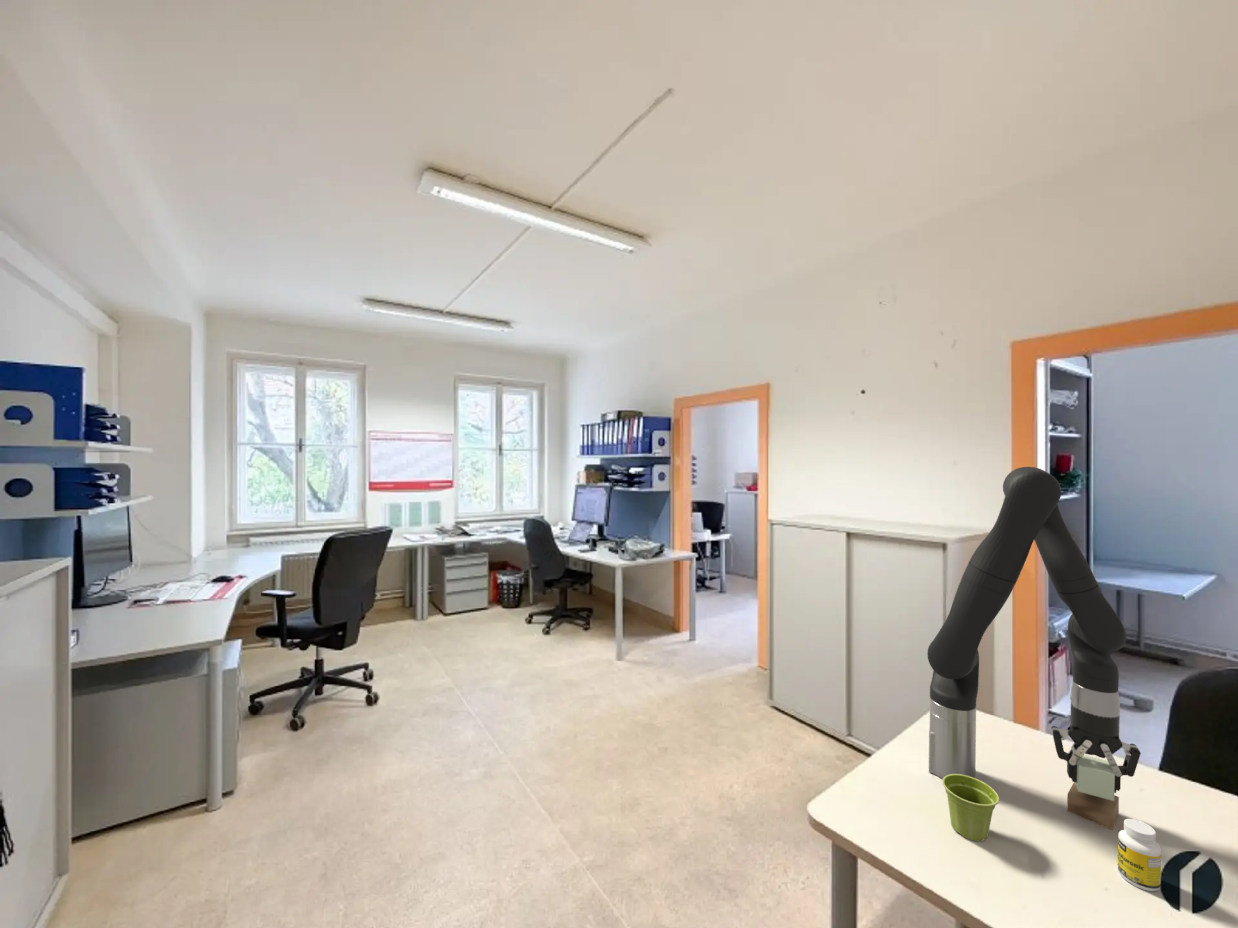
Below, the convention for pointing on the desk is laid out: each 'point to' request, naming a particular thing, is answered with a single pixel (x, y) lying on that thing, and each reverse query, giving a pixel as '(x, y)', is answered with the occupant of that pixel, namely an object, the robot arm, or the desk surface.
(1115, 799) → the walnut block
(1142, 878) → the supplement bottle
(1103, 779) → the sage cube
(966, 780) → the plant pot
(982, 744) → the desk surface
